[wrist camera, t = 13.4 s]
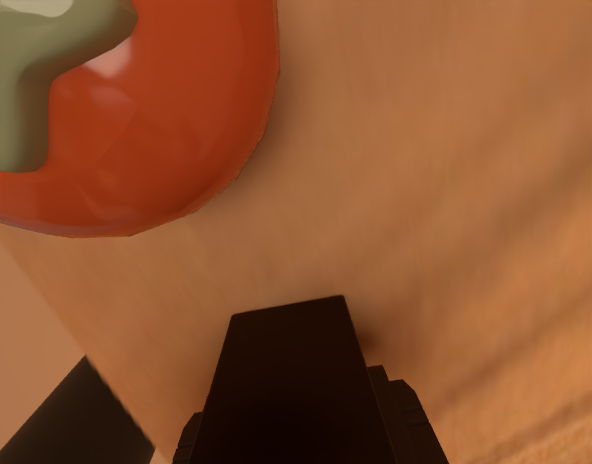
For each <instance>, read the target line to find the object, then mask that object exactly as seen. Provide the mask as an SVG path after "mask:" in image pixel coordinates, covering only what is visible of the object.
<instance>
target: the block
mask: <svg viewBox="0 0 592 464" xmlns="http://www.w3.org/2000/svg"><path fill="white" fill-rule="evenodd" d="M188 464H398V462H397V458H396V455H395V452H394V449H393V446H392V443H391V440H390V437H389V434H388V431H387V428H386V425H385V421H384V418H383V415H382V412H381V409H380V406H379V403H378V400H377V397H376V394H375V391H374V388H373V384H372V381H371V378H370V375H369V372H368V369H367V366H366V363H365V360H364V357H363V354H362V350H361V347H360V344H359V341H358V338H357V335H356V332H355V329H354V326H353V323H352V320H351V317H350V313H349V310H348V307H347V304H346V301H345V298H344V296H339V297H334V298H328V299H322V300H317V301H311V302H306V303H300V304H294V305H289V306H283V307H278V308H272V309H266V310H261V311H255V312H250V313H244V314H238V315H233V316H232V317H231V320H230V324H229V327H228V331H227V334H226V337H225V341H224V344H223V347H222V351H221V354H220V357H219V361H218V364H217V367H216V371H215V374H214V377H213V381H212V384H211V387H210V391H209V394H208V398H207V401H206V404H205V408H204V411H203V414H202V418H201V421H200V424H199V428H198V431H197V434H196V438H195V441H194V444H193V448H192V451H191V454H190V458H189V461H188Z"/></svg>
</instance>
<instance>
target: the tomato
mask: <svg viewBox="0 0 592 464" xmlns="http://www.w3.org/2000/svg"><path fill="white" fill-rule="evenodd" d="M279 74H280V57H279V34H278V12H277V0H0V223H2V224H6V225H10V226H14V227H19V228H23V229H27V230H31V231H35V232H39V233H44V234H48V235H55V236H61V237H68V238H95V237H127V236H133V235H135V234H138V233H141V232H144V231H146V230H149V229H152V228H154V227H157V226H160V225H163V224H165V223H168V222H171V221H173V220H176V219H179V218H182V217H184V216H186V215H189V214H191V213H194V212H196V211H197V210H199V209H200V208H201V207H202V206H204V205H205V204H206V203H207V202H209V201H210V200H211V199H212V198H214V197H215V196H216V195H217V194H218V193H220V192H221V191H222V190H223V189H225V188H226V187H227V186H228V185H230V184H231V183H232V182H233V181H235V180H236V178H237V177H238V175H239V174H240V172H241V170H242V169H243V167H244V165H245V164H246V162H247V160H248V159H249V157H250V156H251V154H252V152H253V151H254V149H255V147H256V146H257V144H258V143H259V141H260V139H261V138H262V136H263V134H264V133H265V130H266V126H267V122H268V118H269V114H270V110H271V106H272V102H273V98H274V94H275V90H276V86H277V82H278V78H279Z"/></svg>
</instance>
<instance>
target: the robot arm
mask: <svg viewBox="0 0 592 464" xmlns="http://www.w3.org/2000/svg"><path fill="white" fill-rule="evenodd" d="M367 369H368V372H369V375H370V378H371V381H372V384H373V388H374V391H375V394H376V397H377V400H378V403H379V406H380V409H381V412H382V415H383V418H384V421H385V425H386V428H387V431H388V434H389V437H390V440H391V443H392V446H393V449H394V452H395V455H396V458H397V462H398V464H449V462H448V460H447V458H446V456H445V454H444V452H443V450H442V447H441V445H440V443H439V441H438V439H437V437H436V435H435V433H434V431H433V428H432V426H431V424H430V423H429V420H428V418H427V416H426V414H425V412H424V410H423V408H422V405H421V403H420V401H419V399H418V397H417V395H416V393H415V391H414V390H413V389H412V388H411V387H410V386H409V385H408V384H407V383H406V382H405V381H404V380H403V379H400V380H394V381H389V380H388V377H387V375H386V372H385V370H384V367H383V365H378V366H372V367H367ZM207 398H208V396H207ZM206 401H207V399H206ZM205 404H206V402H205ZM204 408H205V406H204ZM203 411H204V409H203ZM202 414H203V412H197V413H194V414H193V416H192V417H191V419H190V420H189V421H188V423H187V424H186V426H185V427H184V428H183V431H182V434H181V437H180V440H179V443H178V448H177V449H176V452H175V454H174V457H173V463H172V464H188V461H189V458H190V454H191V451H192V448H193V444H194V441H195V438H196V434H197V431H198V428H199V424H200V421H201V418H202Z"/></svg>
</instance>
